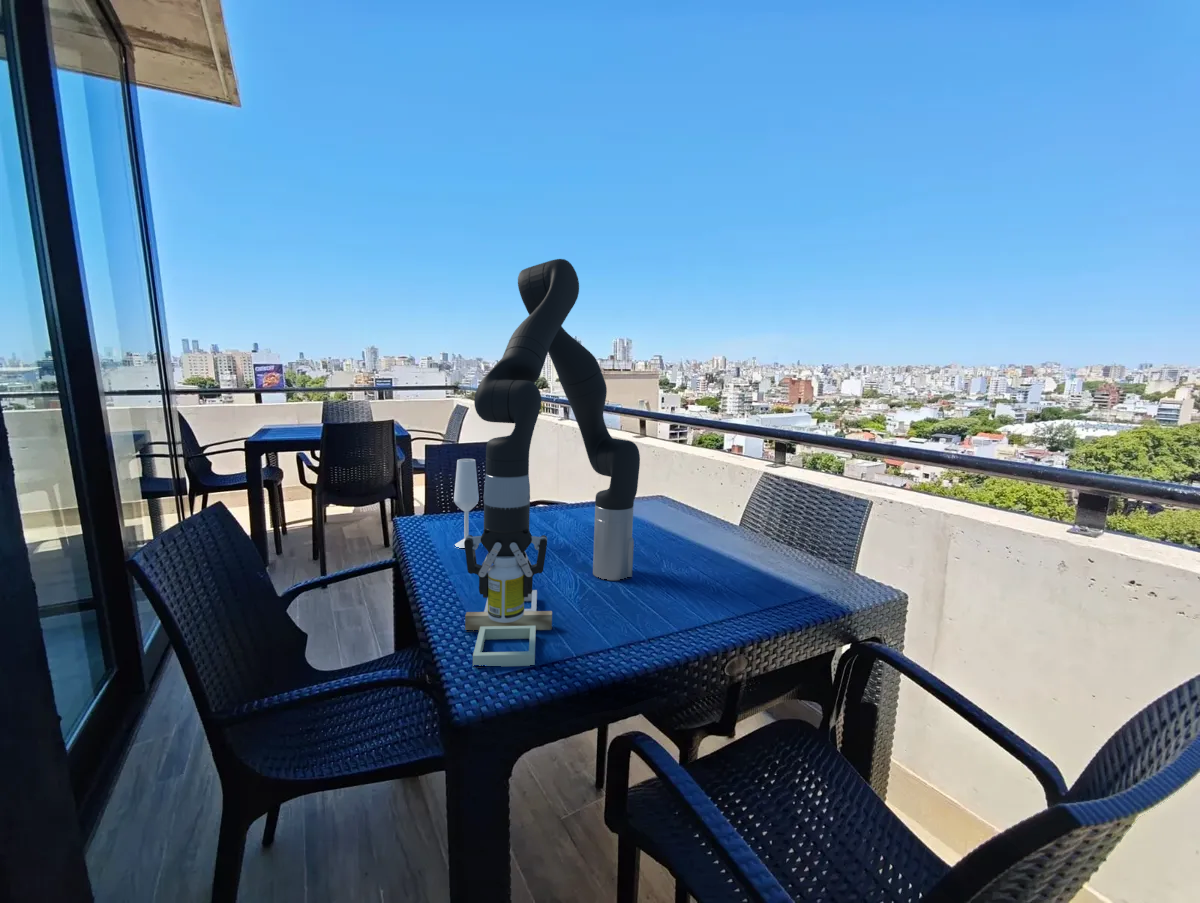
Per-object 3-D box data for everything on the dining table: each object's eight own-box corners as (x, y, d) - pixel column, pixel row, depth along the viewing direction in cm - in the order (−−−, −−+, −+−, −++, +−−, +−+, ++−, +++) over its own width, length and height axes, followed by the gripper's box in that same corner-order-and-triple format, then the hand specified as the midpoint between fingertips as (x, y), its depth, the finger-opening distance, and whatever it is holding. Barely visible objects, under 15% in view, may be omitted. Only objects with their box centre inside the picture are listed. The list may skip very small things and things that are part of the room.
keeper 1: (536, 598, 111) (537, 590, 111) (536, 620, 101) (536, 610, 101) (489, 599, 110) (489, 590, 110) (484, 621, 100) (484, 611, 100)
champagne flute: (472, 550, 141) (472, 462, 137) (449, 547, 142) (449, 461, 139) (482, 542, 147) (483, 459, 144) (460, 540, 148) (460, 457, 145)
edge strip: (551, 625, 100) (551, 610, 99) (551, 629, 98) (552, 614, 98) (466, 627, 98) (466, 612, 97) (465, 631, 96) (465, 616, 96)
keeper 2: (535, 635, 96) (535, 625, 95) (534, 665, 86) (534, 654, 85) (480, 636, 94) (480, 626, 94) (472, 667, 85) (472, 655, 84)
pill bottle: (525, 608, 92) (527, 548, 91) (521, 624, 86) (522, 560, 85) (490, 607, 92) (491, 547, 91) (484, 623, 86) (484, 559, 85)
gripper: (550, 495, 91) (548, 586, 93) (466, 494, 89) (466, 587, 92) (550, 506, 83) (548, 605, 86) (459, 505, 82) (459, 605, 84)
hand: (505, 595), depth 89 cm, fingers closed on pill bottle, 6 cm apart
